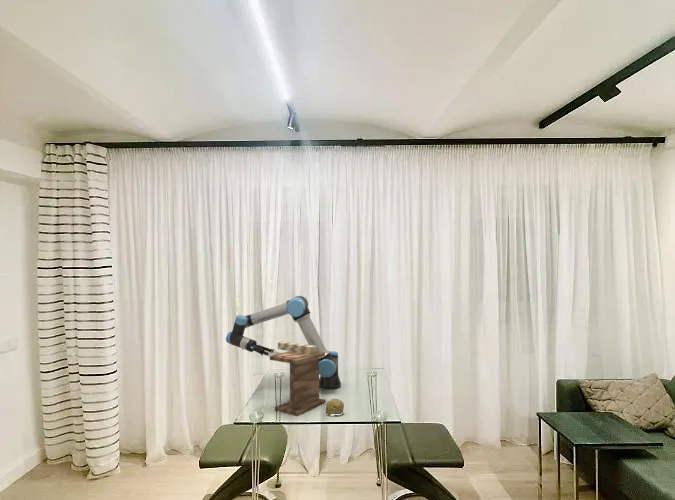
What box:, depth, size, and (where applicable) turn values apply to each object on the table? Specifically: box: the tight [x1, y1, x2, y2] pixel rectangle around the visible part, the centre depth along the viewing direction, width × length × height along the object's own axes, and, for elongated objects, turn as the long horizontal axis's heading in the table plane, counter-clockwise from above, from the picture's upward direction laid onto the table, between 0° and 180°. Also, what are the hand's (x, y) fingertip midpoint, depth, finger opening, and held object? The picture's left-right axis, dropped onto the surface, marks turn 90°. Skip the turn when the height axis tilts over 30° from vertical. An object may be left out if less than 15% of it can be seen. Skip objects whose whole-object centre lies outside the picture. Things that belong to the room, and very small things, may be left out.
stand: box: [269, 351, 326, 417], centre depth 273 cm, size 20×26×30 cm
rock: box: [325, 398, 345, 416], centre depth 260 cm, size 10×11×10 cm
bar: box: [277, 341, 317, 354], centre depth 282 cm, size 26×4×4 cm, turn 56°
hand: (277, 355), depth 296 cm, fingers open, 13 cm apart
